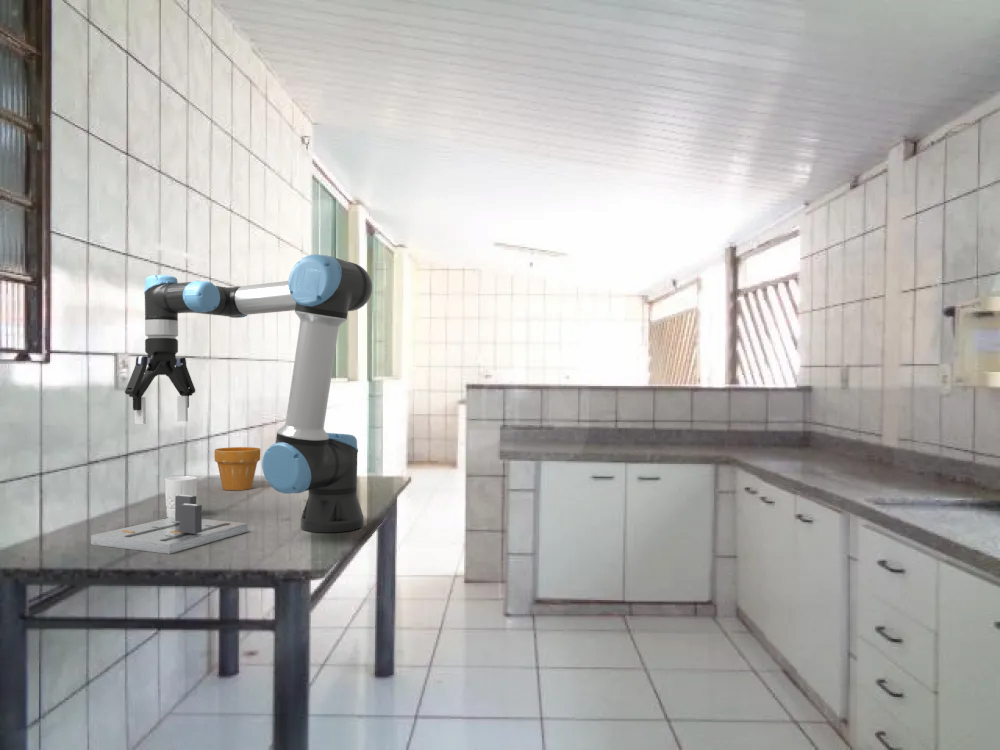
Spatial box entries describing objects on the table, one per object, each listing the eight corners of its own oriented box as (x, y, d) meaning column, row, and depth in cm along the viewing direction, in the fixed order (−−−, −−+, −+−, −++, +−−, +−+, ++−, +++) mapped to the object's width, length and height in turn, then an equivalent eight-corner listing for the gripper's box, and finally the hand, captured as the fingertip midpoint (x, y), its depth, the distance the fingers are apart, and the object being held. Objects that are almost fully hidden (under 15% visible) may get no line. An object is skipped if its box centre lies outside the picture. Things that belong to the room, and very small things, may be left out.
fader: (201, 532, 165) (201, 504, 165) (194, 533, 163) (195, 505, 163) (186, 530, 166) (186, 502, 166) (179, 532, 164) (179, 504, 164)
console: (247, 531, 176) (247, 522, 176) (169, 554, 154) (169, 543, 154) (175, 524, 184) (175, 515, 184) (91, 544, 162) (91, 534, 162)
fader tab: (195, 521, 177) (196, 495, 177) (189, 522, 175) (190, 496, 175) (181, 519, 178) (181, 494, 178) (175, 521, 176) (175, 495, 176)
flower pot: (226, 485, 251) (227, 446, 251) (267, 486, 249) (267, 447, 249) (205, 491, 237) (206, 450, 237) (248, 492, 235) (249, 451, 235)
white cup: (184, 519, 190) (185, 480, 190) (157, 518, 192) (158, 479, 192) (203, 514, 198) (203, 476, 198) (176, 512, 200) (177, 475, 200)
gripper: (187, 340, 199) (187, 419, 199) (108, 335, 176) (108, 425, 176) (209, 339, 196) (209, 420, 196) (132, 334, 173) (132, 425, 173)
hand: (162, 422), depth 186 cm, fingers open, 13 cm apart
